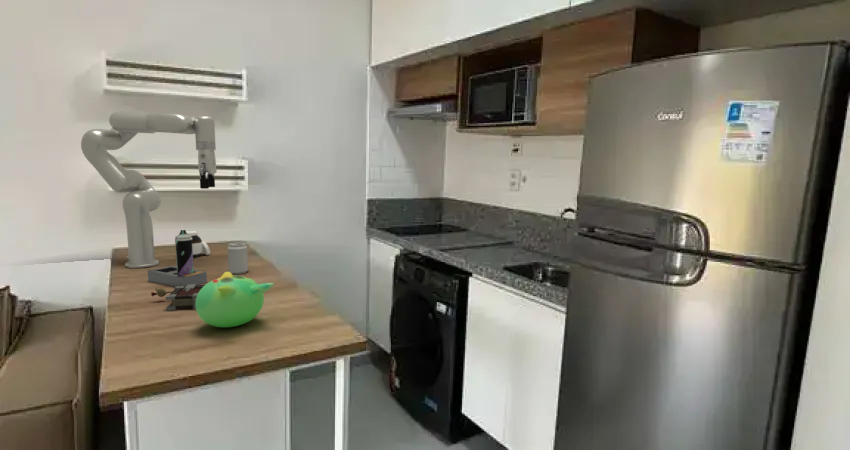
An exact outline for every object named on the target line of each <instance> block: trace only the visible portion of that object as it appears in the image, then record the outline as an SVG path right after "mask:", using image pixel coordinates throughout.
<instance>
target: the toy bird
mask: <svg viewBox="0 0 850 450" xmlns="http://www.w3.org/2000/svg"><path fill="white" fill-rule="evenodd" d="M204 285H205V286H204V287H203V288H202V289H201V290H200V291H199V293H198V295H197V297H196V302H195V306H196V309H195V310H196V313H197V316H198V317H199V318H200V319H201V320H202V321H203V322H204V323H205V324H207V325H210V326H212V327H215V328H216V327H217V328H233V327H238V326H242V325H244V324H247V323H248V322H250V321H251V320H253V319H254V318H255V317H257V316H258V314H260V312H261V310H262V308H263V305H264V301H265V297H264V296H265V295H264V293H265V292H267V291H268V290H270V289H272V288H273V287H274V285H275V284H274V283H273V282H264V283H257V282H256V280H254V279H252V278H250V277H248V276H245V275H244V276H243V275H237V274H231V273H230V272H229V271H225V272H223V274H222V275H221V276H220V277H217V278H215V279H212V280H210V281H208V282H207V283H205V284H204Z"/></svg>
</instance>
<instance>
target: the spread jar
mask: <svg viewBox="0 0 850 450" xmlns="http://www.w3.org/2000/svg"><path fill="white" fill-rule="evenodd" d="M186 232H187V233H188V235H190V236H191V238H192V250H193V259H195V258H198V257H199V256H201V255H202V254H204V255H205V256H209V255H210V254H211V250H210V247H209V246H208V244H207V243H206V241H204V240H202V238H201V237H200V236H199V235H198V231H196V230H186Z"/></svg>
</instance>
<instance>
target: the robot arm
mask: <svg viewBox="0 0 850 450" xmlns="http://www.w3.org/2000/svg"><path fill="white" fill-rule="evenodd" d="M108 121H109V125H110V126H111V128H110V129H105V128H104V129H103V128H93V129H89V130H88V131H86V132H85V133H84V134H83V136H82V138H81V142H80V149H81V151H82V154H83V155H84V157H85V158H86V160H87V162H88V163H89V164H90V165H92V167H93V168H94V169H95V170H96V171H97V174H99V175H100V176H101V177H102V179H103V180H104V181H105V182H106V183H107V185H108V187H110V188H111V189H112V190H113V191H114V192H116V193H118V194H122V193H123V194H124V193H126V195H125V196H124V197H123V199H122V209H123V212H124V218H125V223H126V224H125V226H126V236H127V248H128V249H127V251H128V253H127V254H128V255H126V259H128V261H127V262H125V264H124V266H125V267H126V268H131V269H138V268H139V269H140V268H149V267H154V266H157V265H160V260H158V259H155V256H156V255H155V243H154V242H155V241H154V240H155V239H154V228H153V227H154V226H153V219H152V217H151V216H152V215H151V214H150V213H151V212H153V211H156V210H158V208H159V207H160V206H161V202H162V201H161V200H162V199H161V197H160V195H159V193H158V191H157V190H156V189H155V188H154V187H153V185H151V183H150V182H149V181H148V179H147V178H146V177H145V176H144V175H143V174H142V173H140V172H139V171H137V170H135V169H125V168H124V167H123V166H122V165H121V163H120V162H119V160H118V159H116V157H114V156H113V155H112V154H110V152H108V151H117V150H120V149H121V148H123V147H124V146H125V145H126V144H128V143H129V142H130V141H131V140H132V139H134V137H136V136H137V134H155V133H168V134H169V133H171V134H181V135H183V134H184V135H194V137H195V150H196V151H198V153H197V160H198V163H197V166H198V168H197V169H198V173H199V185H200V186H199V188H200V189H203V190H207V189H209V188H216V183H215V182H216V180H215V174H216V173H217V163H216V162H217V161H216V154H215V151H216V147H217V146H216V130H215V126H216V125H215V119H214V117H213V116H207V115H206V116H205V115H198V116H190V115H185V114H180V113H179V114H178V113H176V114H175V113H164V112H163V113H162V112H160V113H158V112H152V111H151V112H149V111H148V112H147V111H145V112H144V111H130V110H129V111H127V110H118V111H114V112H113V113H111V114H110V115H109V119H108Z"/></svg>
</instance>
